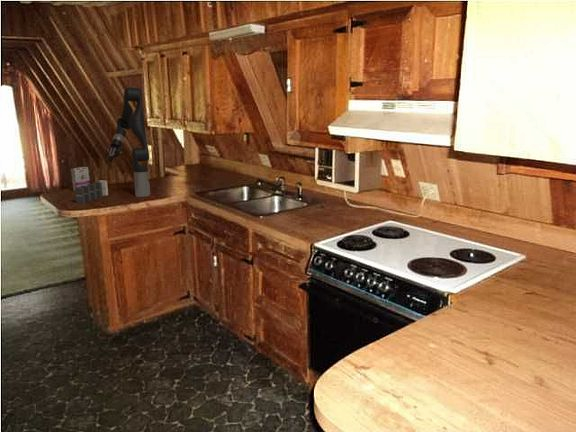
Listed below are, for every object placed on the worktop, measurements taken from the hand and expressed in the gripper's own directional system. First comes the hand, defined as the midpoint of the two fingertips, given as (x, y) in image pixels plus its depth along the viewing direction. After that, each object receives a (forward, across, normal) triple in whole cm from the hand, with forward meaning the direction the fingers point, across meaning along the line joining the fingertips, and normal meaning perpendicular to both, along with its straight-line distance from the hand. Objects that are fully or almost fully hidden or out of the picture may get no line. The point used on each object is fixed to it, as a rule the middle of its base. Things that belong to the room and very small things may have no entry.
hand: (109, 161), depth 321 cm
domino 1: (+39, +2, +10) cm, 40 cm away
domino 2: (+35, +2, +5) cm, 35 cm away
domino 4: (+27, +1, -4) cm, 27 cm away
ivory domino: (+23, +1, -8) cm, 24 cm away
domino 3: (+31, +1, +1) cm, 31 cm away
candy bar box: (+17, +24, -14) cm, 33 cm away
